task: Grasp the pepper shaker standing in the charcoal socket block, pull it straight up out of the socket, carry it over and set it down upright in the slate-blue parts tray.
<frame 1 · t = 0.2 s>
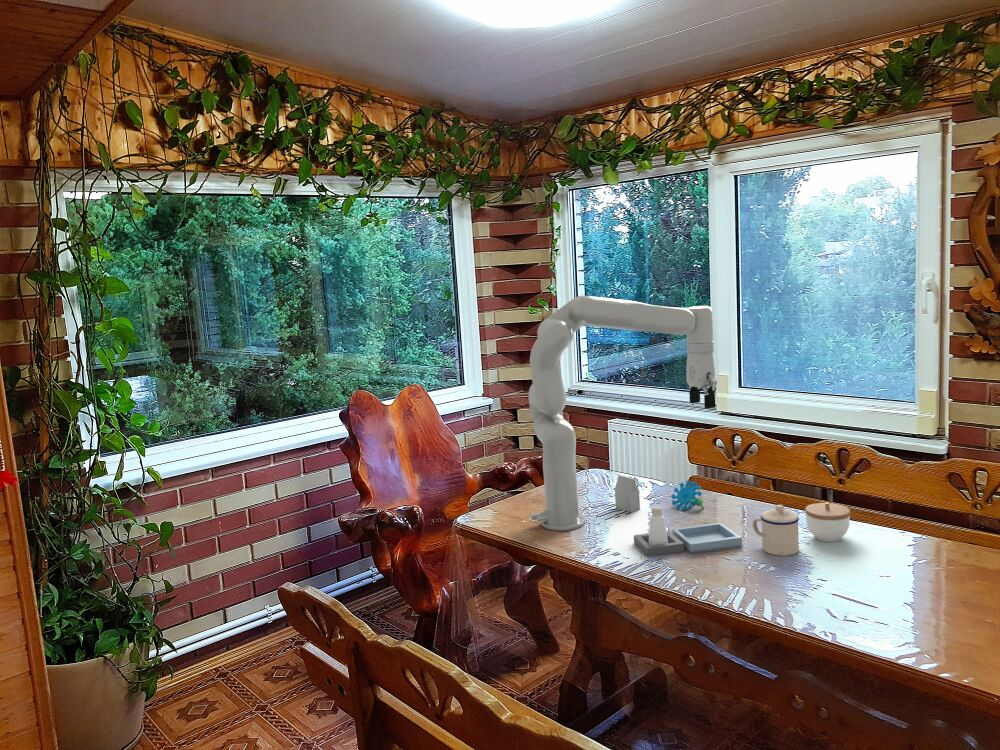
hand: (702, 405, 226), 31 cm above the table, fingers open, 9 cm apart
pepper shaker: (658, 548, 200), resting in socket block
blue spiky cluster: (688, 508, 229), on the table
parts tray: (706, 542, 201), on the table
grey upright wedge block: (627, 509, 233), on the table
socket block: (658, 547, 200), on the table
lidded jar: (827, 538, 198), on the table
teacup with lid: (775, 549, 193), on the table
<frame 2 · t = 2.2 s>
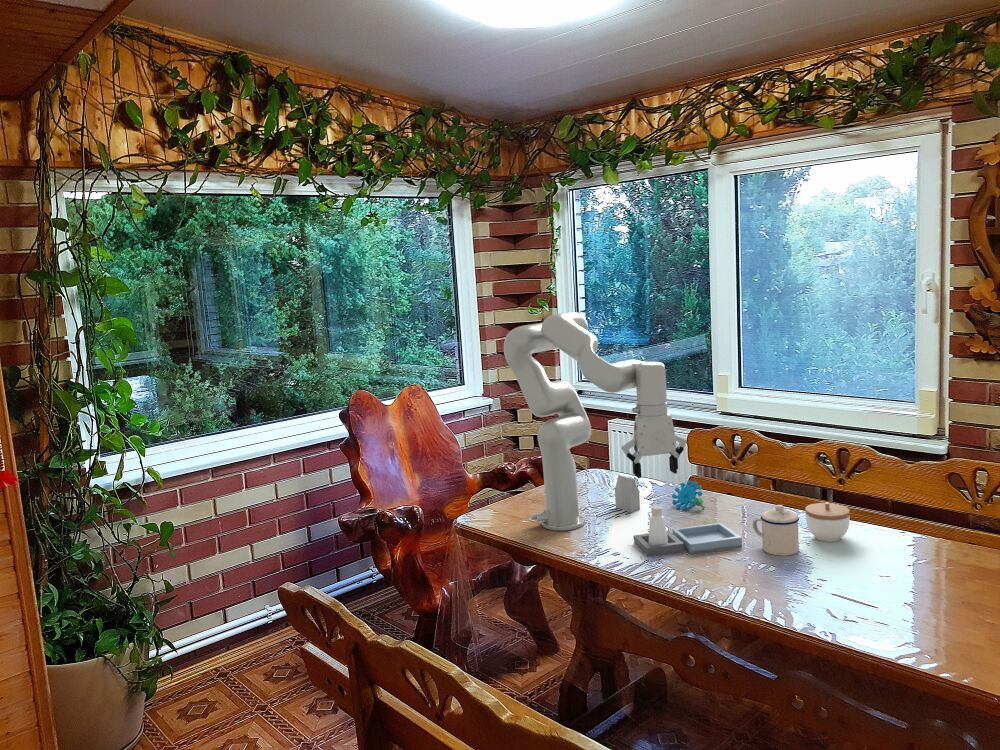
hand: (655, 474, 197), 20 cm above the table, fingers open, 9 cm apart
nothing on the table moved.
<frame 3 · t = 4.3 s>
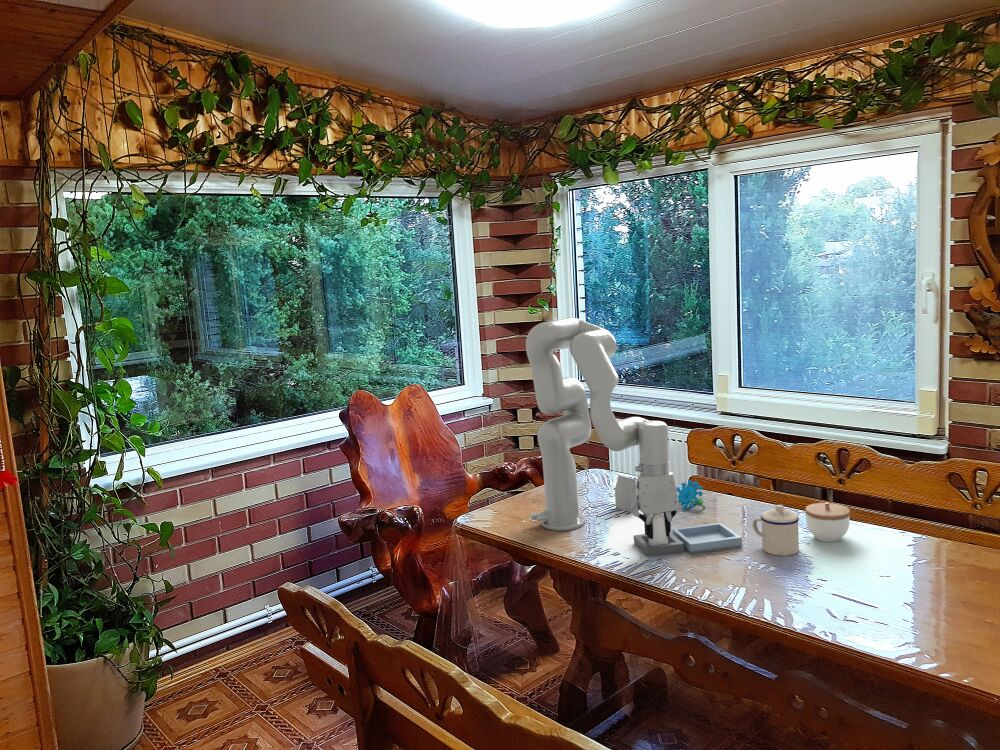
hand: (657, 535, 199), 3 cm above the table, fingers closed on pepper shaker, 3 cm apart
pepper shaker: (658, 548, 200), resting in socket block, touching gripper
everything else where it was.
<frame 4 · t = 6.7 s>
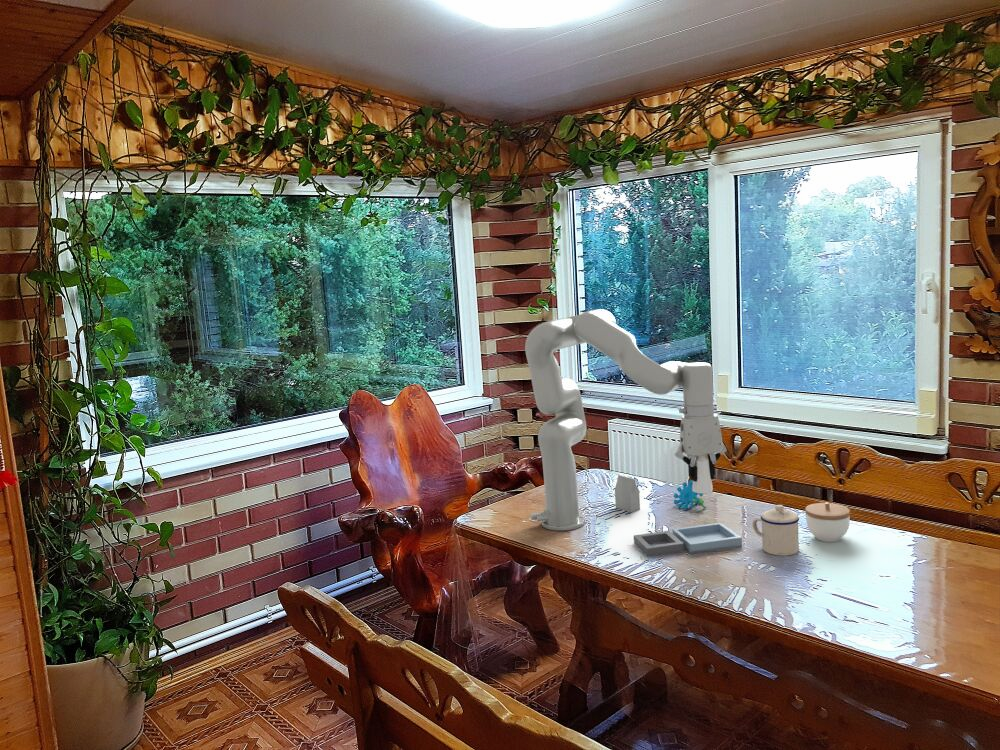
hand: (701, 478, 198), 18 cm above the table, fingers closed on pepper shaker, 3 cm apart
pepper shaker: (702, 491, 199), point 14 cm above the table, touching gripper
everything else where it was.
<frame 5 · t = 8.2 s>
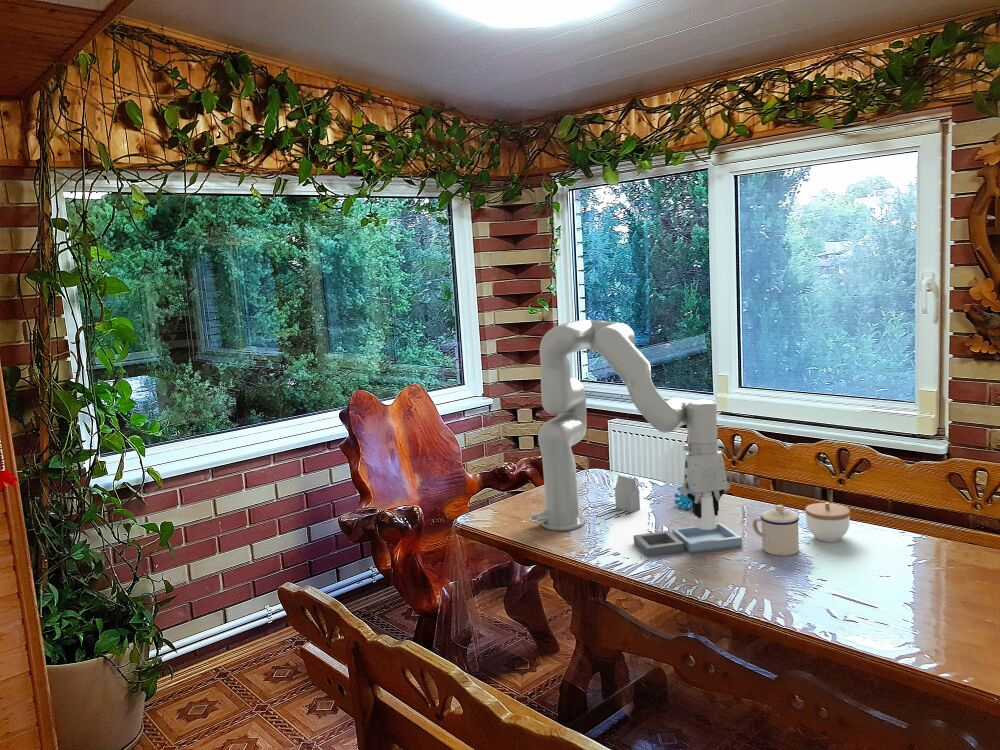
hand: (705, 514, 200), 8 cm above the table, fingers closed on pepper shaker, 3 cm apart
pepper shaker: (706, 527, 200), point 4 cm above the table, touching gripper
everything else where it was.
when the fingers open (5 cm above the table, at t = 9.4 s): pepper shaker stays where it is, resting on parts tray.
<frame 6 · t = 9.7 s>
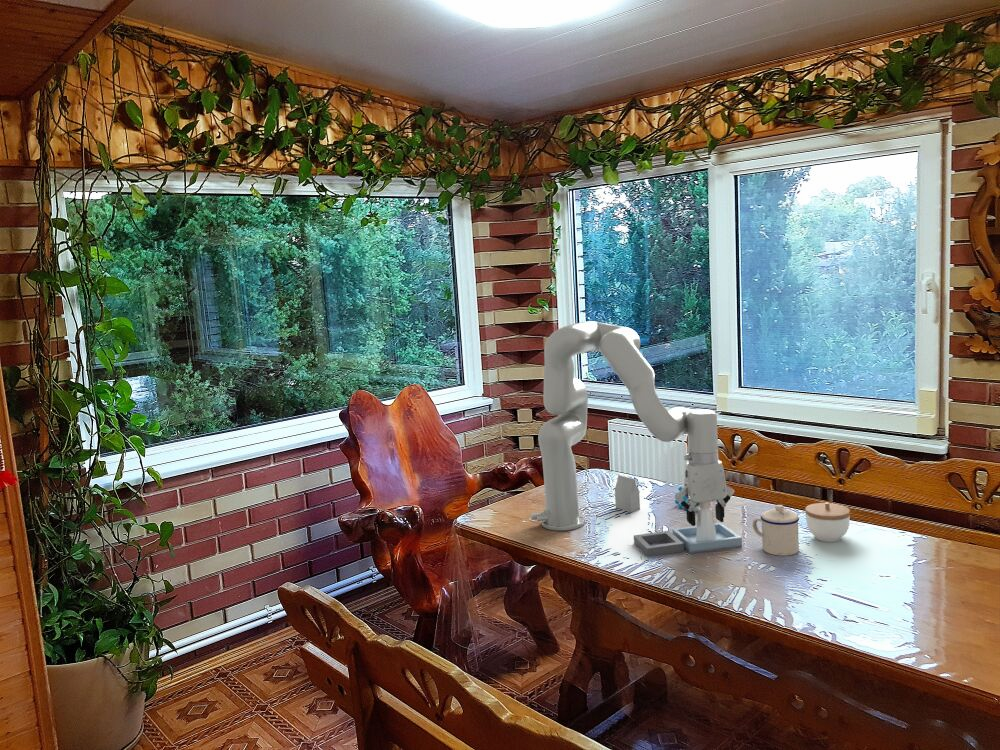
hand: (705, 521, 200), 6 cm above the table, fingers open, 7 cm apart
pepper shaker: (706, 540, 201), resting on parts tray
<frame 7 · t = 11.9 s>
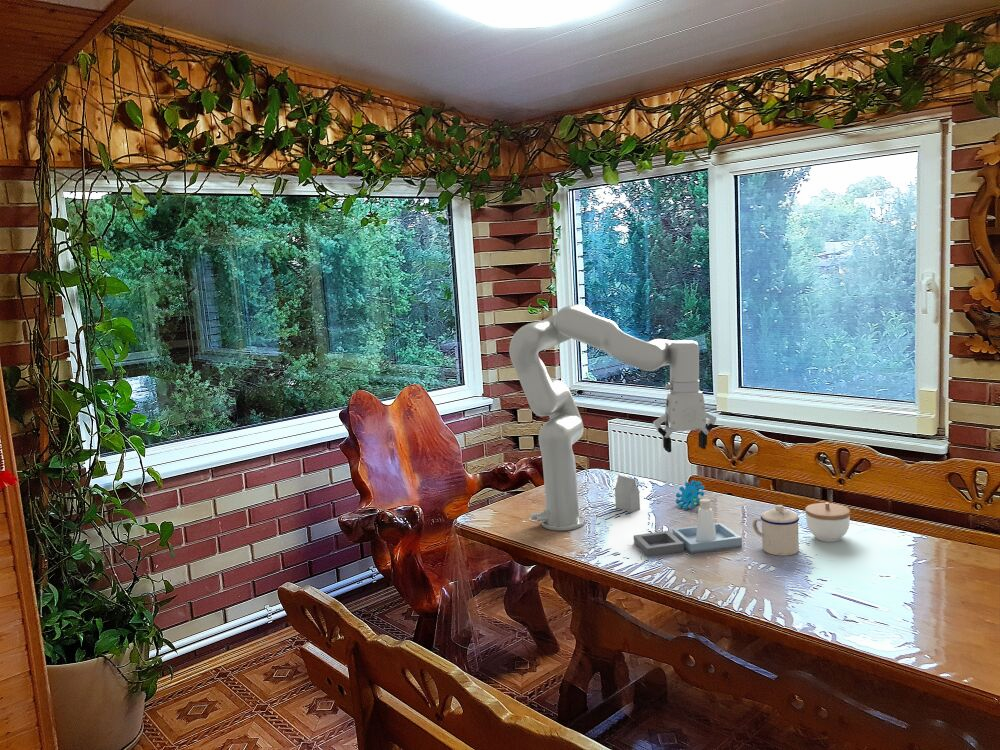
hand: (685, 449, 204), 24 cm above the table, fingers open, 9 cm apart
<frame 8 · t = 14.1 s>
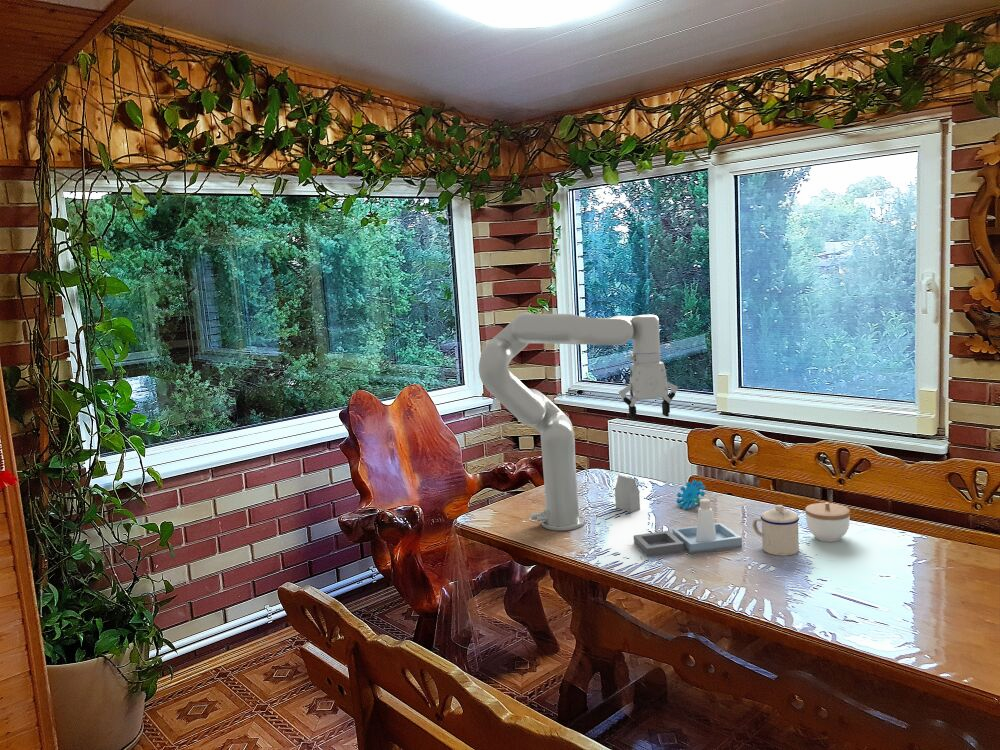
hand: (649, 417, 217), 30 cm above the table, fingers open, 9 cm apart
at the end: pepper shaker inside the target area on the parts tray (0.1 cm from its centre), point 0.4 cm above the parts tray's base; pepper shaker tilted 0°; the gripper is holding nothing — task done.
